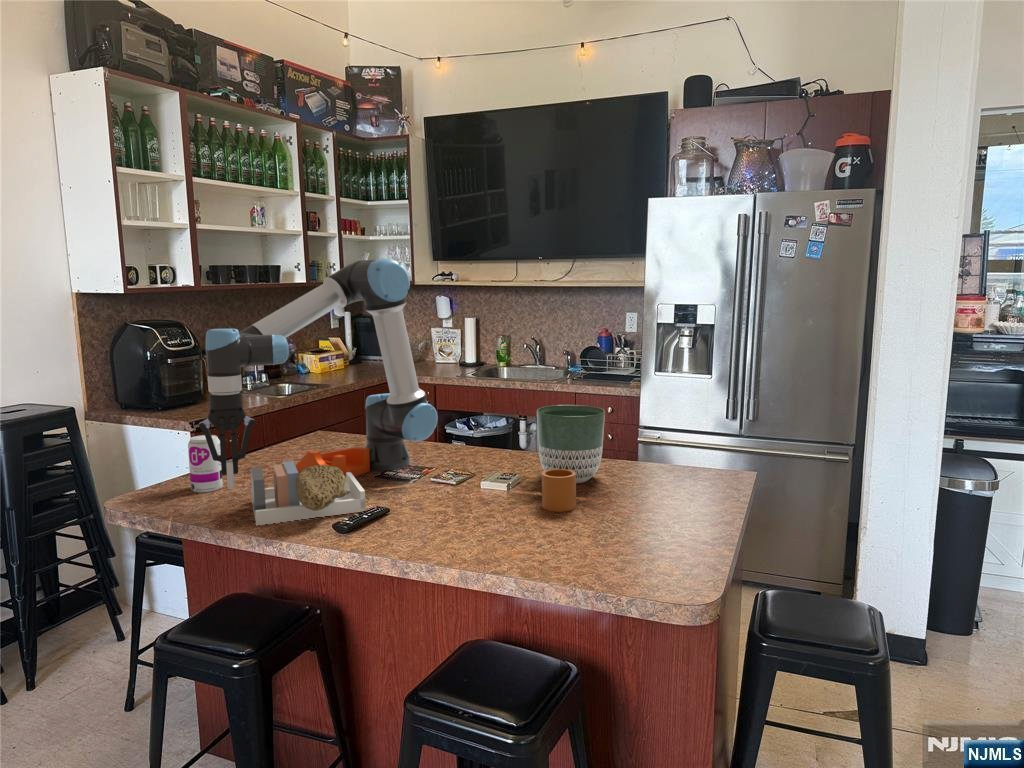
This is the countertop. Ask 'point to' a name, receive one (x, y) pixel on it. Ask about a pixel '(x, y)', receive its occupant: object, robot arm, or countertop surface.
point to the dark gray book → (258, 488)
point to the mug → (558, 490)
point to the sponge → (320, 486)
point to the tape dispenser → (339, 460)
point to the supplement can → (204, 465)
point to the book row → (285, 484)
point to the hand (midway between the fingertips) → (230, 486)
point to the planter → (571, 438)
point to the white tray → (290, 513)
